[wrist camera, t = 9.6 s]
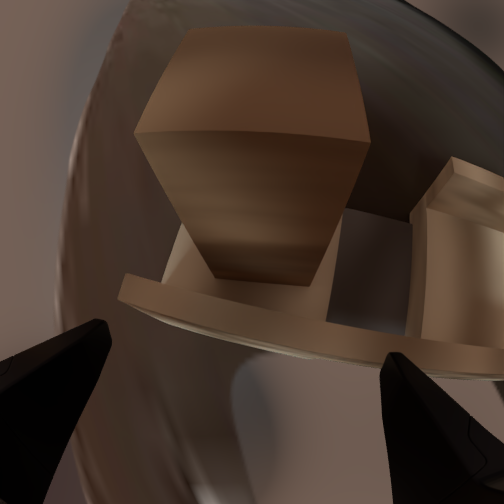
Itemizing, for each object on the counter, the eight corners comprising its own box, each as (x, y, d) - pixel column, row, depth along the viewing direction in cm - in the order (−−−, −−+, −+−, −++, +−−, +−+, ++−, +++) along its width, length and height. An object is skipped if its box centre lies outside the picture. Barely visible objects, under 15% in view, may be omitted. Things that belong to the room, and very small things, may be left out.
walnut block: (309, 286, 16) (370, 142, 5) (215, 278, 16) (133, 133, 6) (313, 203, 17) (345, 32, 7) (228, 197, 18) (189, 29, 8)
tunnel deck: (497, 240, 19) (547, 199, 12) (493, 380, 15) (559, 374, 9) (218, 173, 22) (200, 104, 16) (168, 324, 18) (117, 299, 12)
